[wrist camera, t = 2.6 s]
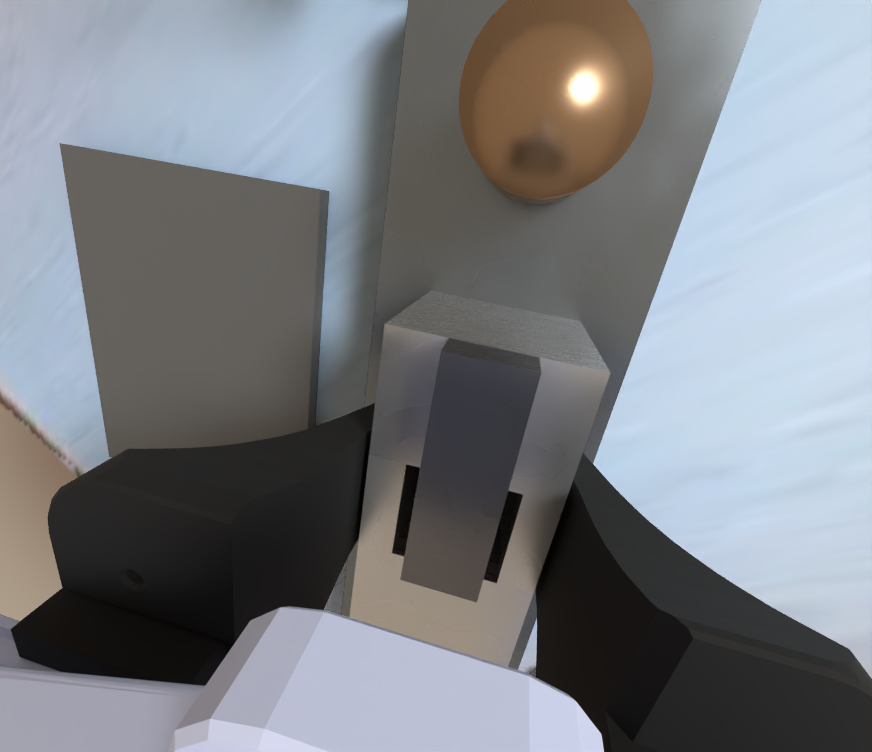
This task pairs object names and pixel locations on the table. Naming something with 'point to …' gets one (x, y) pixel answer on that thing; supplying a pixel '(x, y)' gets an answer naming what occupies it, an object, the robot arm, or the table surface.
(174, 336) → the flat grey panel
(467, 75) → the grey base plate
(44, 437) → the table surface
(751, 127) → the table surface
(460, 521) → the white slotted box
